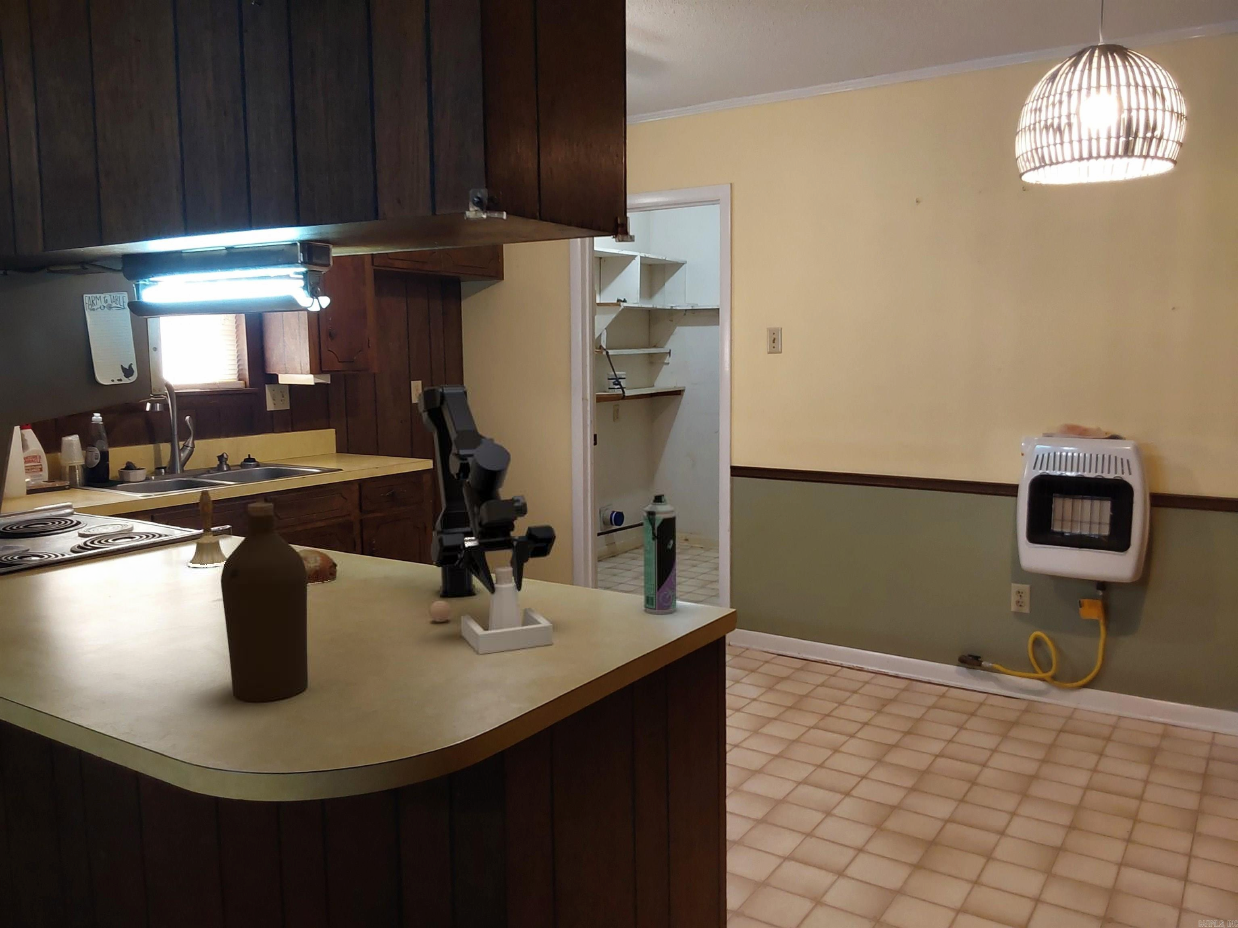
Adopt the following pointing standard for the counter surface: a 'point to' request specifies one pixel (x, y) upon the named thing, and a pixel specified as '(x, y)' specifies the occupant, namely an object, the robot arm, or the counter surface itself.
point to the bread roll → (318, 566)
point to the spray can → (659, 557)
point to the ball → (440, 611)
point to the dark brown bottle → (265, 612)
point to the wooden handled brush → (207, 536)
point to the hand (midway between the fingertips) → (506, 591)
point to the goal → (508, 634)
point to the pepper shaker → (504, 601)
